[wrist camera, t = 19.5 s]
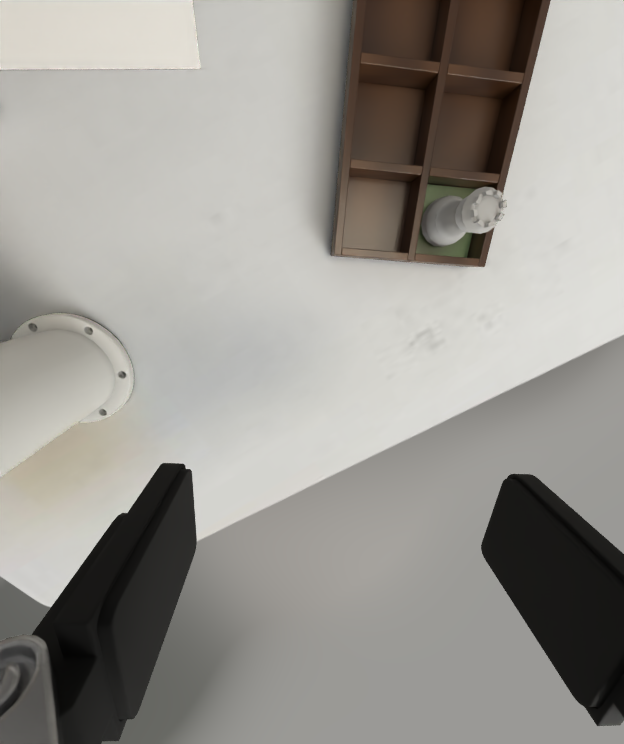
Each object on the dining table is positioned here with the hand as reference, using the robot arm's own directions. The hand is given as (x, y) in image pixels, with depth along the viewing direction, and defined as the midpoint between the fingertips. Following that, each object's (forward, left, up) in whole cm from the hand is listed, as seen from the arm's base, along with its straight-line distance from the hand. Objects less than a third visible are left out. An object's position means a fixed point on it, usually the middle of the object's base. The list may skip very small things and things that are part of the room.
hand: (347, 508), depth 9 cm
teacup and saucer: (-22, +31, -26) cm, 46 cm away
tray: (+9, +19, -26) cm, 34 cm away
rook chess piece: (+12, +12, -26) cm, 31 cm away
